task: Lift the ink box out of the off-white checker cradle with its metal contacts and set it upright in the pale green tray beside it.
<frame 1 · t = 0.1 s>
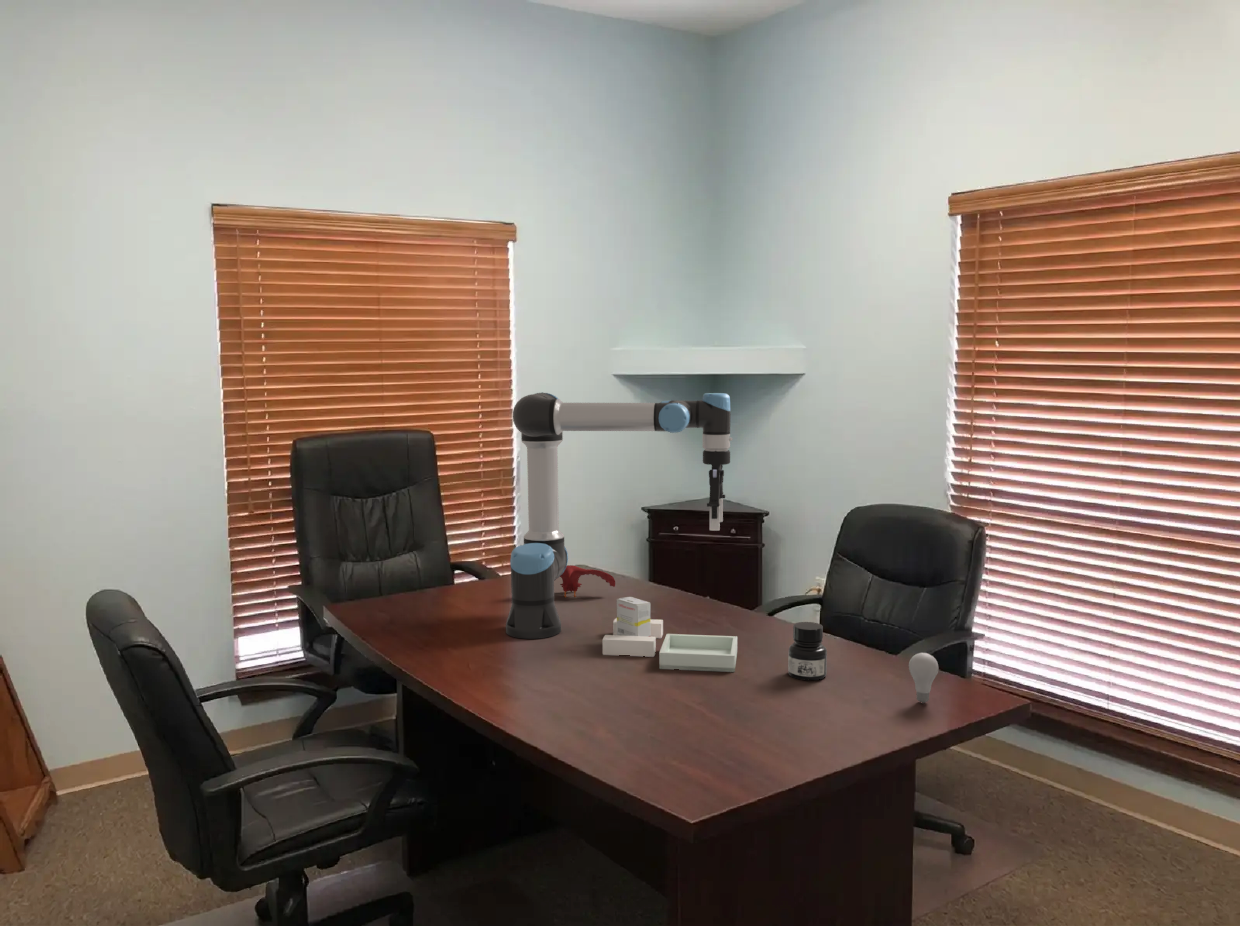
hand: (716, 526, 268), 28 cm above the table, tool pointing down, fingers open, 13 cm apart
ink box: (633, 645, 253), on the table
pale green tray: (699, 660, 239), on the table
lightbulb: (922, 703, 209), on the table
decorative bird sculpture: (570, 597, 304), on the table
checker cradle: (633, 644, 253), on the table
ink bottle: (807, 676, 227), on the table
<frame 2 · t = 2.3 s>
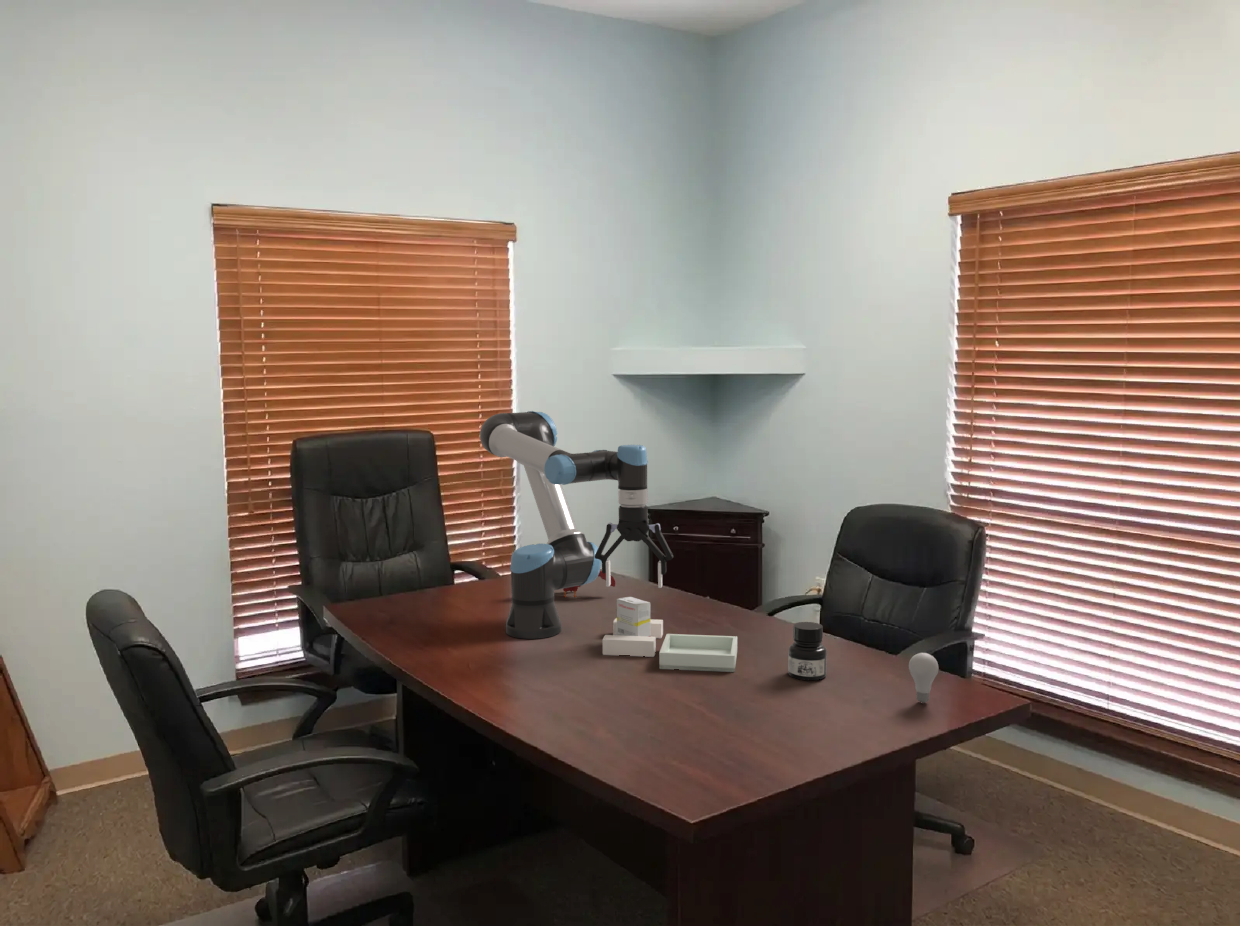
hand: (634, 586, 251), 16 cm above the table, tool pointing down, fingers open, 13 cm apart
nothing on the table moved.
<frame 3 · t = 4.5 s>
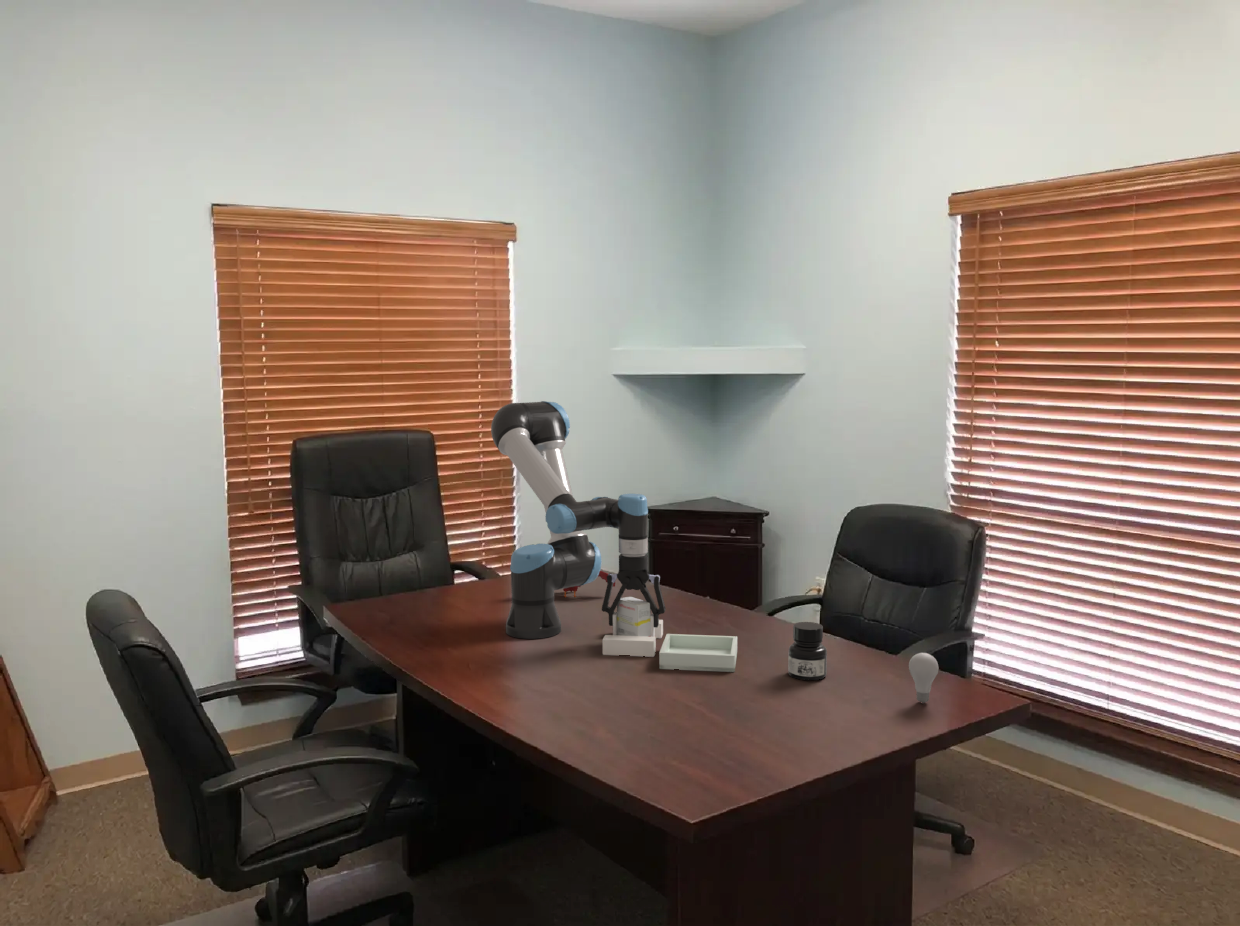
hand: (633, 638, 253), 2 cm above the table, tool pointing down, fingers closed on ink box, 9 cm apart
ink box: (634, 644, 253), on the table, touching gripper
everything else where it was.
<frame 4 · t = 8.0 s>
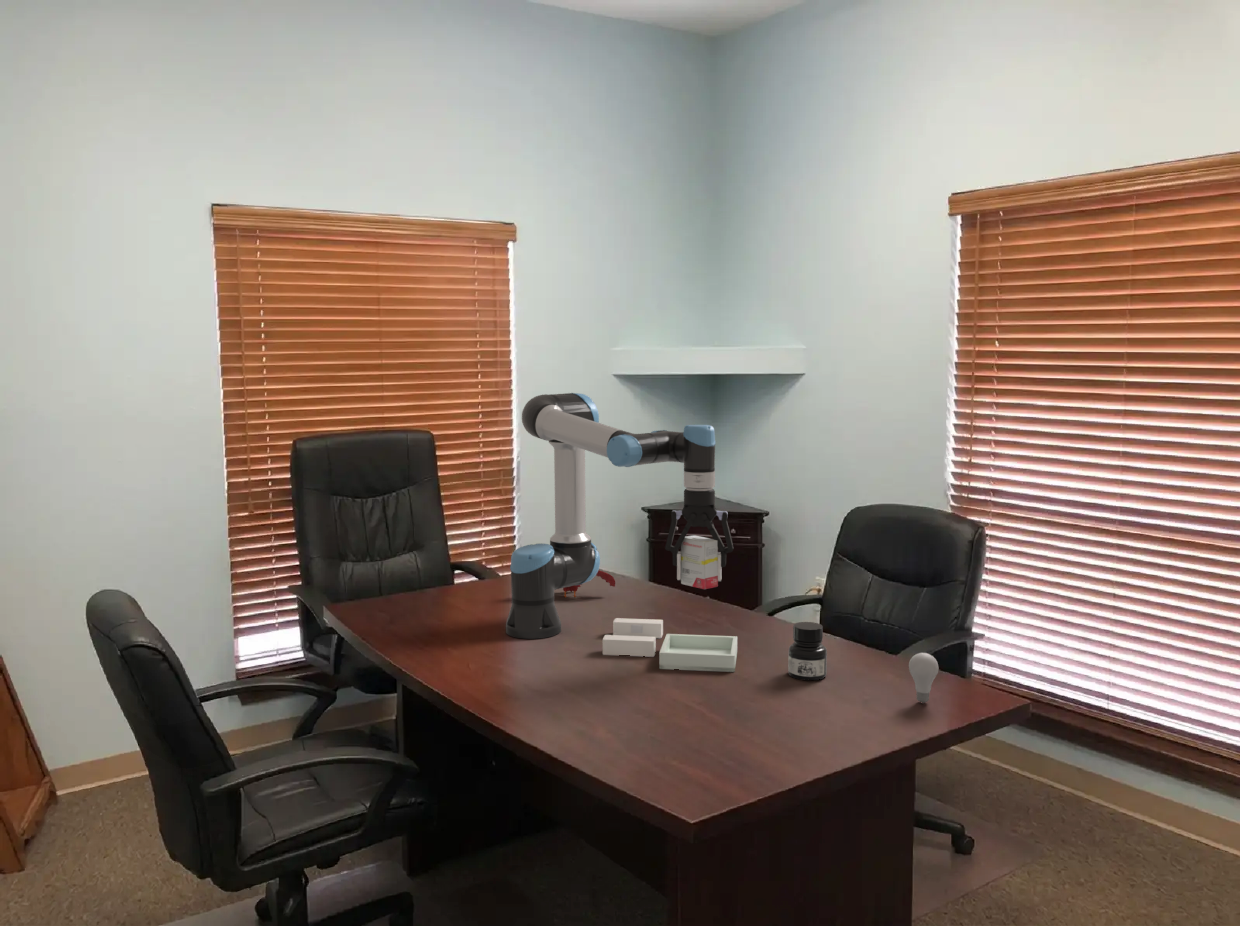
hand: (699, 579, 237), 20 cm above the table, tool pointing down, fingers closed on ink box, 9 cm apart
ink box: (699, 586, 237), point 19 cm above the table, touching gripper
everything else where it was.
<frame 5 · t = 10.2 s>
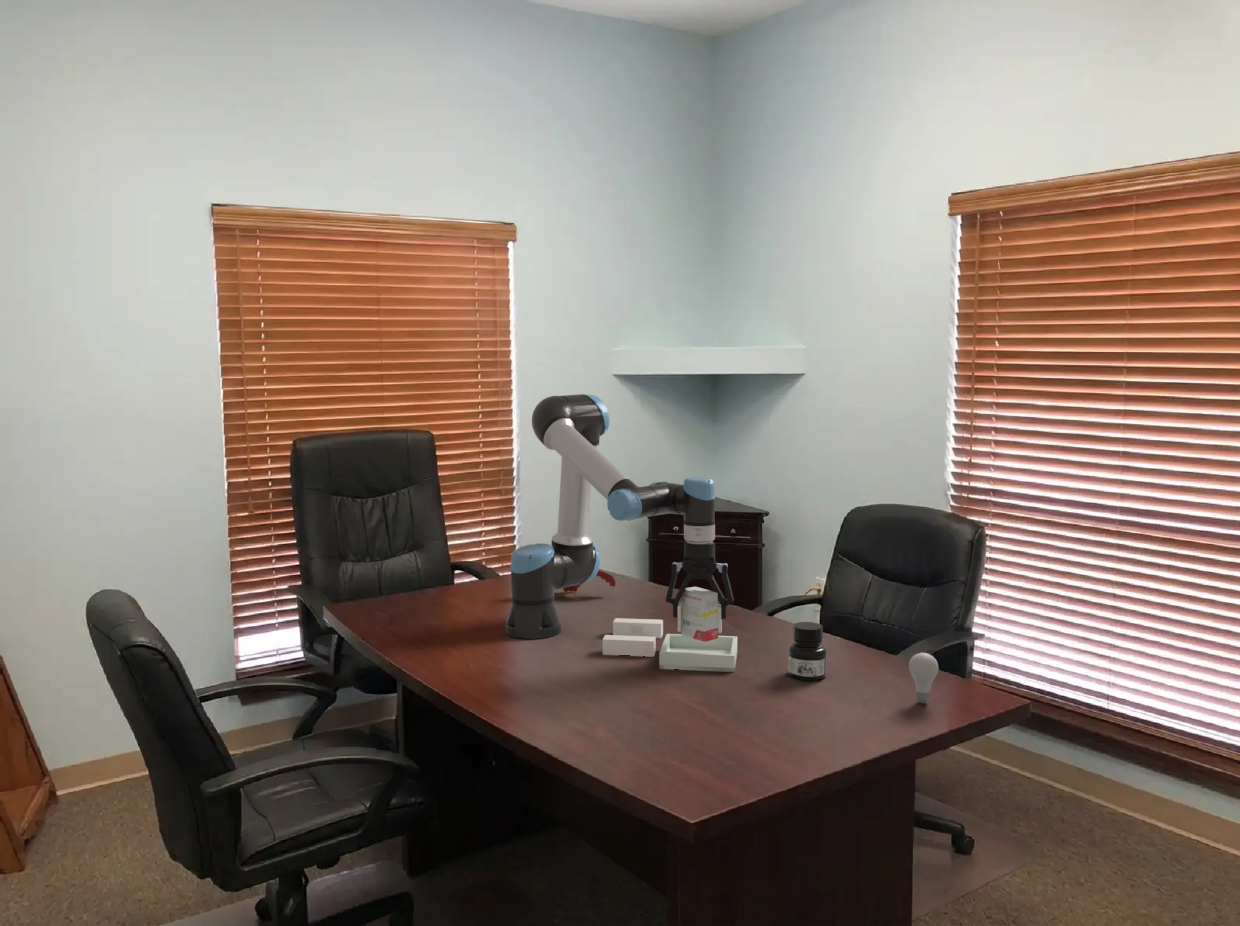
hand: (699, 630, 239), 7 cm above the table, tool pointing down, fingers closed on ink box, 9 cm apart
ink box: (699, 637, 239), point 6 cm above the table, touching gripper
everything else where it was.
when the fingers open (4 cm above the table, at t = 11.9 s): ink box drops 1 cm, resting on pale green tray.
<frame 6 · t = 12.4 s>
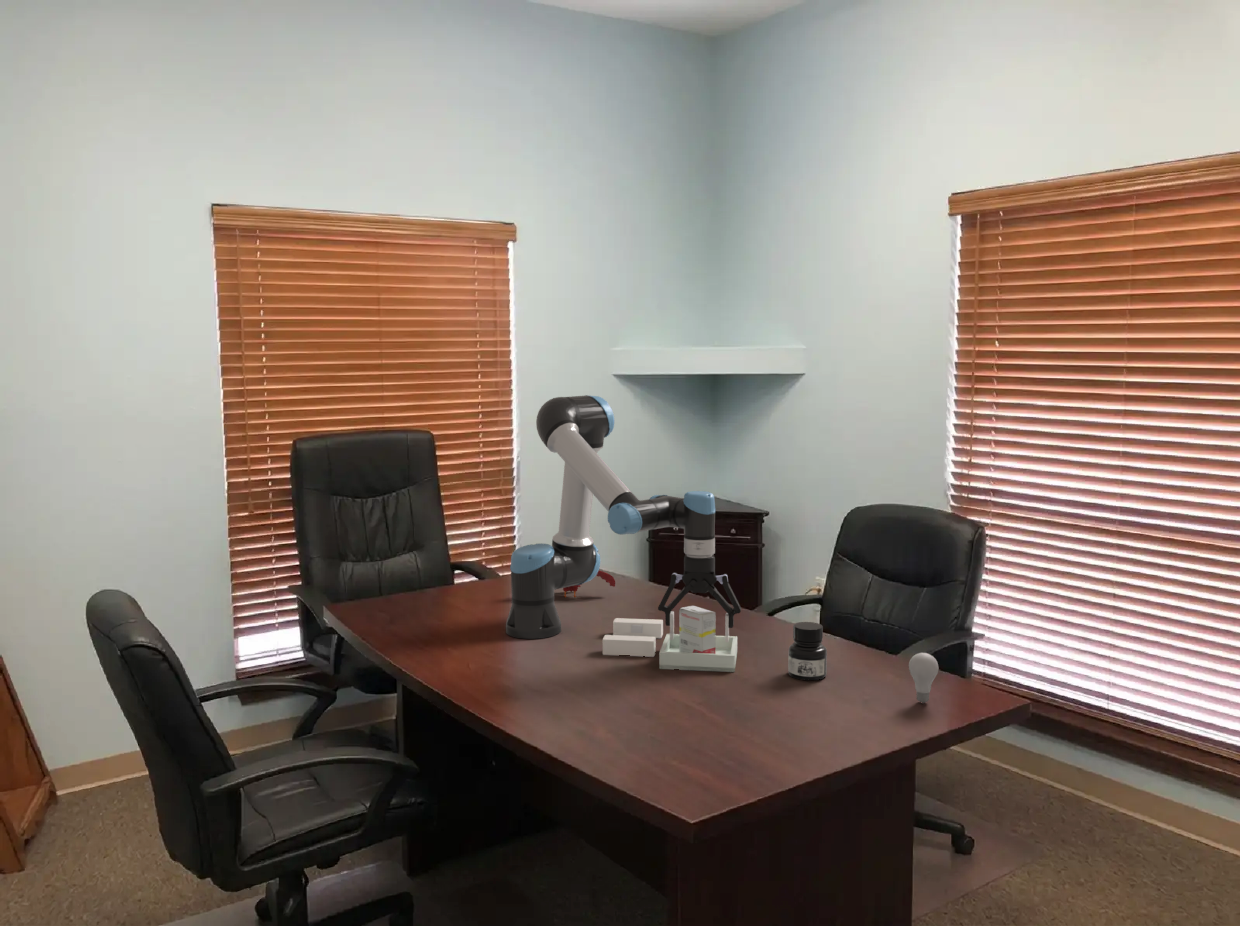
hand: (699, 639, 239), 5 cm above the table, tool pointing down, fingers open, 13 cm apart
ink box: (697, 656, 239), point 1 cm above the table, touching pale green tray
everything else where it was.
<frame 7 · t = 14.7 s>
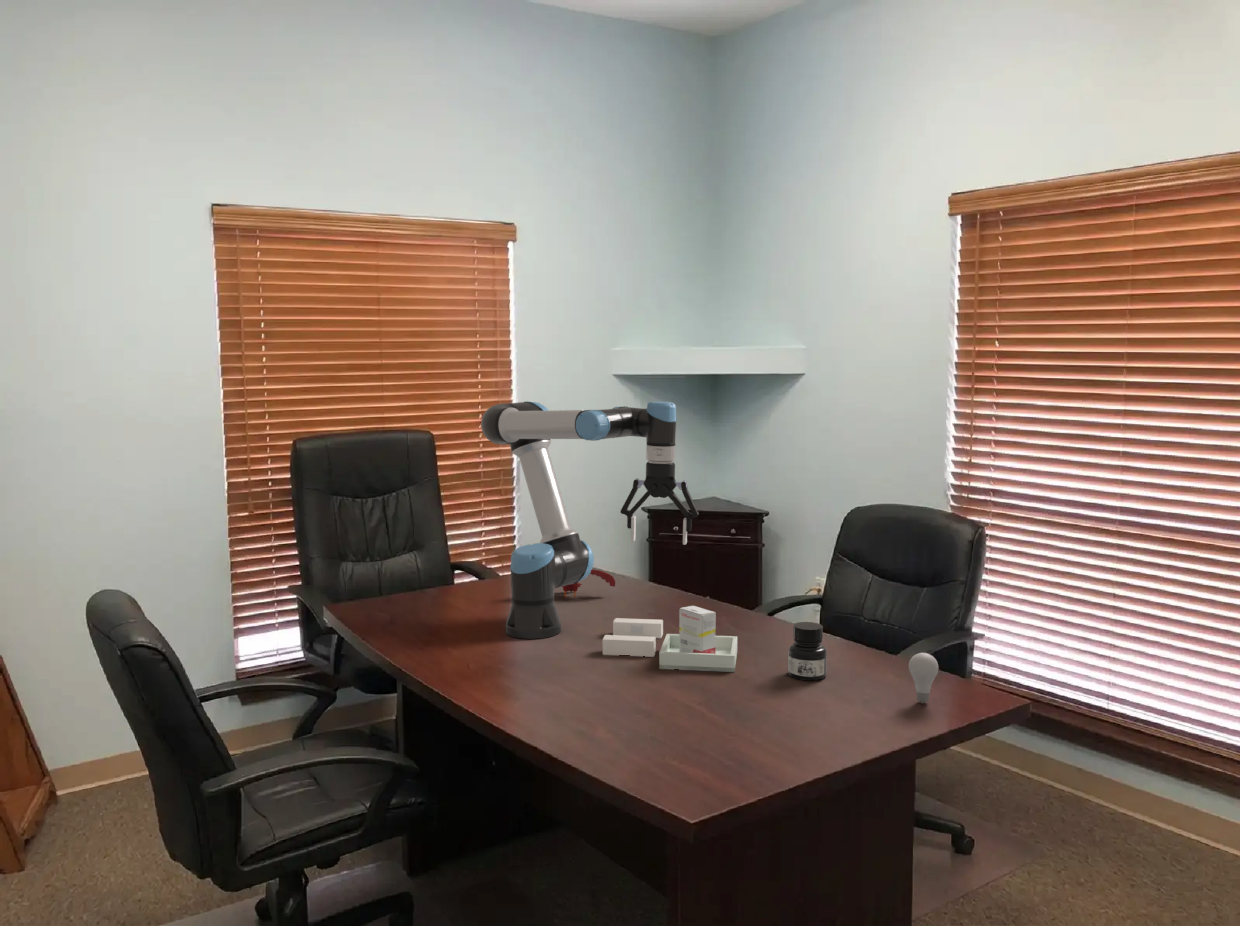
hand: (658, 542, 253), 26 cm above the table, tool pointing down, fingers open, 13 cm apart
nothing on the table moved.
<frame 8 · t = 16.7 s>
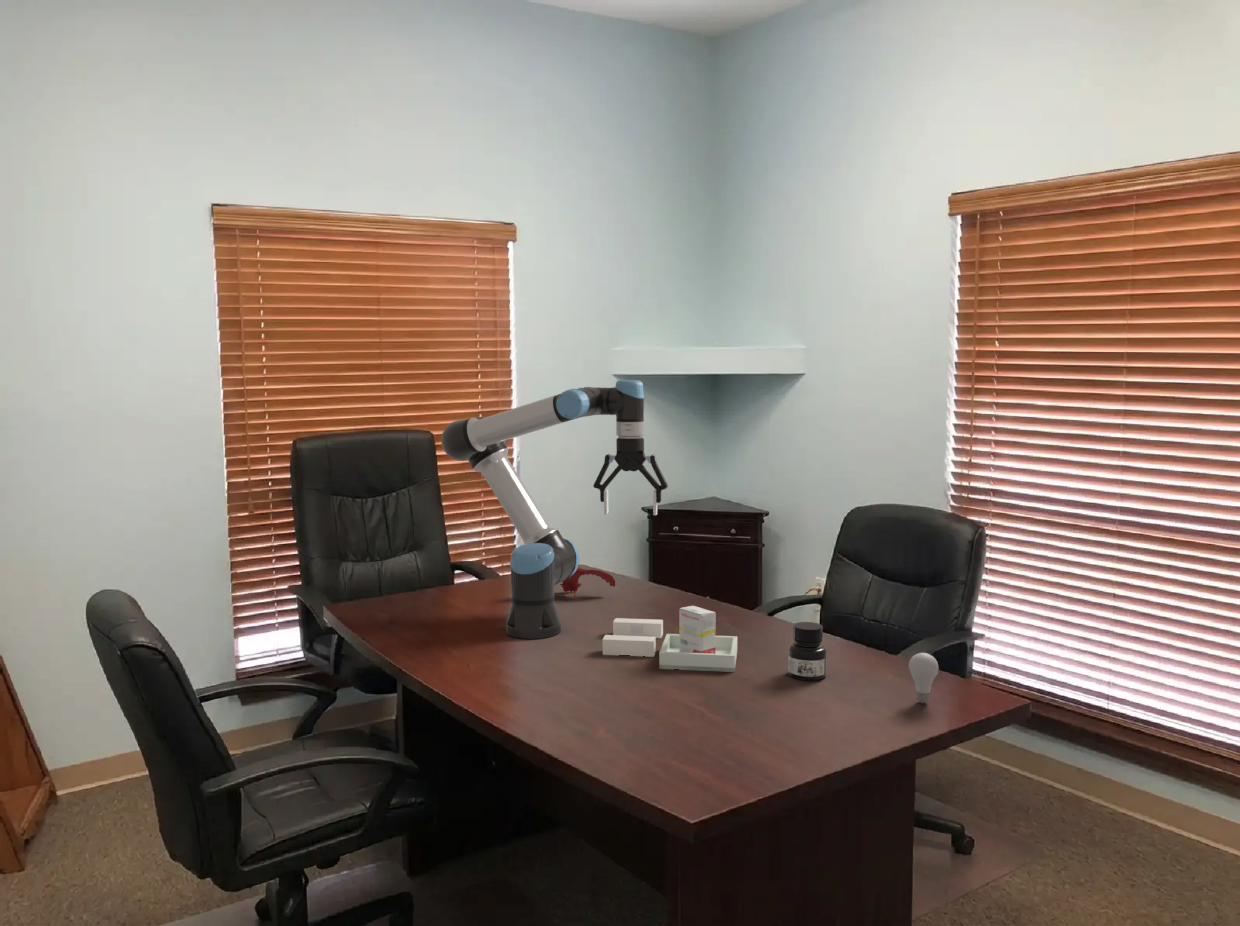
hand: (630, 514, 266), 32 cm above the table, tool pointing down, fingers open, 13 cm apart
nothing on the table moved.
at the end: ink box inside the target area on the pale green tray (0.5 cm from its centre), point 0.8 cm above the pale green tray's base; ink box tilted 0°; the gripper is holding nothing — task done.
